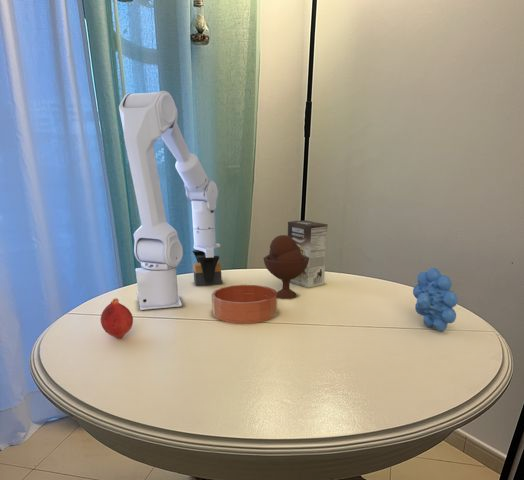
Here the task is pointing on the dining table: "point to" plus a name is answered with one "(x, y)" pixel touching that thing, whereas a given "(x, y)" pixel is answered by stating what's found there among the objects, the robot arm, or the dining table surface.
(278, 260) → the ice cream bowl
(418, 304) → the grapes
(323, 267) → the coffee box
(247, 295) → the bowl
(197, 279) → the eraser
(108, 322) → the onion
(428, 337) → the dining table surface
